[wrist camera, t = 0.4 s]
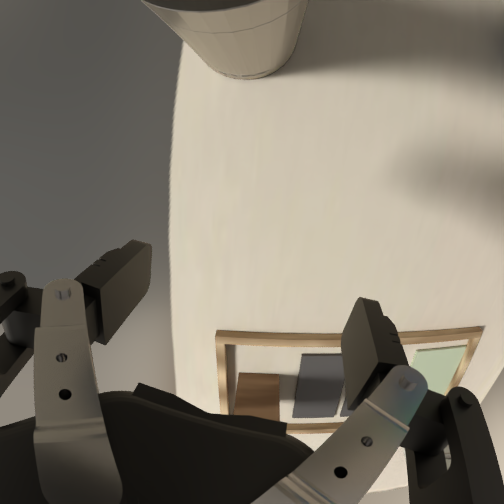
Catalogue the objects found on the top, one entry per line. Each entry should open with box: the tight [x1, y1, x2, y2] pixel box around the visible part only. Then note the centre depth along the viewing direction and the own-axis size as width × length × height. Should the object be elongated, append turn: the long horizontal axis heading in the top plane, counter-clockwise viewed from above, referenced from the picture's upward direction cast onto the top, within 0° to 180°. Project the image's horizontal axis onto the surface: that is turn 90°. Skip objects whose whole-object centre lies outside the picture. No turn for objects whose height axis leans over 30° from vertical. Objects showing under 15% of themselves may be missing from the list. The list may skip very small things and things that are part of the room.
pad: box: [410, 345, 466, 395], centre depth 37 cm, size 12×8×1 cm
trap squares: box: [292, 354, 354, 418], centre depth 38 cm, size 12×13×1 cm
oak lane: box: [215, 327, 483, 434], centre depth 37 cm, size 18×35×1 cm, turn 89°
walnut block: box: [233, 373, 280, 421], centre depth 33 cm, size 5×5×12 cm
